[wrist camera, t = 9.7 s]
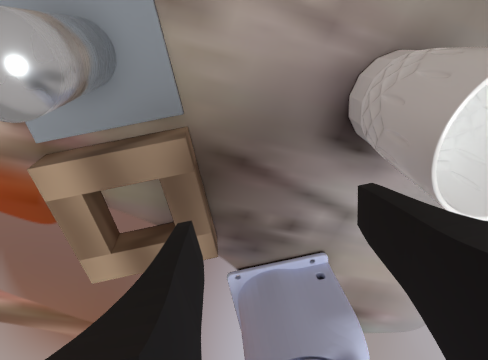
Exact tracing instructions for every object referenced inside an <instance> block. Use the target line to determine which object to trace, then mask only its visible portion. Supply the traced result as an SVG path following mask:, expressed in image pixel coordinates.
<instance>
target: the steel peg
mask: <svg viewBox="0 0 488 360" xmlns="http://www.w3.org/2000/svg"><path fill="white" fill-rule="evenodd" d="M115 68H116V52H115V49H114V46H113V44H112V42H111V40H110V38H109V37H108V35H107V34H106V33H105V32H104V31H103V30H102V29H101V28H100V27H99V26H98V25H96V24H95V23H93V22H92V21H89V20H87V19H85V18H81V17H76V16H69V15H62V14H55V13H48V12H41V11H34V10H27V9H20V8H13V7H6V6H0V121H3V122H11V123H20V122H27V121H31V120H34V119H37V118H39V117H41V116H43V115H45V114H47V113H49V112H51V111H53V110H55V109H57V108H59V107H61V106H63V105H65V104H67V103H69V102H71V101H73V100H75V99H77V98H79V97H81V96H83V95H85V94H87V93H89V92H91V91H93V90H95V89H97V88H99V87H101V86H102V85H104V84H106V83H107V82H108V81H109V80H110V79H111V77H112V76H113V74H114V72H115Z"/></svg>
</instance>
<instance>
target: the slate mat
mask: <svg viewBox="0 0 488 360" xmlns="http://www.w3.org/2000/svg"><path fill="white" fill-rule="evenodd" d="M0 6H6V7H13V8H20V9H27V10H34V11H41V12H48V13H55V14H62V15H69V16H76V17H81V18H85V19H87V20H89V21H92V22H93V23H95V24H96V25H98V26H99V27H100V28H101V29H102V30H103V31H104V32H105V33H106V34H107V35H108V37H109V38H110V40H111V42H112V44H113V46H114V49H115V52H116V68H115V72H114V74H113V76H112V77H111V79H110V80H109V81H108V82H107V83H106V84H104V85H102V86H101V87H99V88H97V89H95V90H93V91H91V92H89V93H87V94H85V95H83V96H81V97H79V98H77V99H75V100H73V101H71V102H69V103H67V104H65V105H63V106H61V107H59V108H57V109H55V110H53V111H51V112H49V113H47V114H45V115H43V116H41V117H39V118H37V119H34V120H31V121H27V122H25V123H26V125H27V126H28V128H29V130H30V132H31V134H32V136H33V138H34V140H35V142H36V143H40V142H45V141H50V140H55V139H60V138H65V137H70V136H75V135H81V134H86V133H91V132H96V131H101V130H106V129H111V128H116V127H121V126H126V125H131V124H136V123H141V122H146V121H151V120H157V119H162V118H167V117H172V116H177V115H182V114H184V112H183V108H182V104H181V100H180V96H179V93H178V89H177V85H176V81H175V78H174V74H173V70H172V66H171V63H170V59H169V55H168V51H167V48H166V44H165V40H164V36H163V33H162V29H161V25H160V21H159V18H158V14H157V10H156V6H155V2H154V0H0Z"/></svg>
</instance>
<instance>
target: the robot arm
mask: <svg viewBox="0 0 488 360" xmlns="http://www.w3.org/2000/svg"><path fill="white" fill-rule="evenodd" d="M357 225H358V226H359V228H360V230H361V232H362V234H363V235H364V237H365V239H366V240H367V242H368V244H369V245H370V246H371V248H372V249H373V250H374V252H375V253H376V254H377V256H378V257H379V258H380V259H381V261H382V262H383V263H384V265H385V266H386V267H387V268H388V270H389V271H390V272H391V273H392V275H393V276H394V277H395V279H396V280H397V281H398V282H399V284H400V285H401V286H402V288H403V289H404V290H405V292H406V293H407V295H408V296H409V298H410V299H411V301H412V303H413V304H414V306H415V307H416V309H417V311H418V312H419V314H420V315H421V317H422V319H423V320H424V322H425V324H426V325H427V327H428V329H429V330H430V332H431V333H432V335H433V337H434V339H435V340H436V342H437V344H438V346H439V348H440V349H441V351H442V353H443V355H444V357H445V358H446V360H488V221H483V220H479V219H475V218H472V217H468V216H464V215H460V214H457V213H454V212H450V211H447V210H444V209H441V208H438V207H435V206H432V205H429V204H426V203H424V202H421V201H418V200H416V199H413V198H411V197H408V196H405V195H403V194H400V193H398V192H395V191H393V190H390V189H388V188H385V187H383V186H380V185H377V184H374V183H369V184H364V185H359V186H358V224H357ZM312 259H313V260H312ZM310 260H312V261H310ZM237 275H239V276H237ZM227 280H228V284H229V287H230V291H231V295H232V298H233V302H234V306H235V309H236V313H237V317H238V321H239V324H240V328H241V331H242V339H243V348H244V356H245V360H370V357H369V351H368V347H367V343H366V340H365V337H364V334H363V331H362V329H361V326H360V324H359V321H358V319H357V317H356V314H355V312H354V310H353V309H352V307H351V305H350V303H349V301H348V299H347V297H346V295H345V293H344V292H343V290H342V288H341V286H340V284H339V282H338V280H337V278H336V277H335V275H334V273H333V271H332V269H331V267H330V265H329V263H328V256H327V255H326V254H325V253H318V254H313V255H309V256H304V257H299V258H295V259H290V260H285V261H280V262H276V263H271V264H266V265H262V266H257V267H252V268H248V269H243V270H238V271H234V272H230V273H229V274H228V275H227ZM203 292H204V264H203V256H202V252H201V249H200V246H199V242H198V239H197V236H196V233H195V229H194V226H193V223H192V220H191V221H186V222H181V223H177V225H176V226H175V228H174V229H173V231H172V232H171V234H170V236H169V237H168V239H167V240H166V242H165V243H164V245H163V246H162V248H161V249H160V251H159V252H158V254H157V255H156V257H155V258H154V260H153V261H152V262H151V264H150V265H149V266H148V268H147V269H146V270H145V272H144V273H143V274H142V275H141V277H140V278H139V279H138V280H137V281H136V282H135V284H134V285H133V286H132V287H131V288H130V289H129V290H128V291H127V292H126V293H125V294H124V296H122V297H121V298H120V299H119V300H118V301H117V302H116V303H115V304H114V305H113V306H112V307H111V308H110V309H109V310H108V311H107V312H106V313H105V314H104V315H102V316H101V317H100V318H99V319H98V320H97V321H95V322H94V323H93V324H92V325H91V326H89V327H88V328H87V329H86V330H85V331H83V332H82V333H81V334H80V335H78V336H77V337H76V338H74V339H73V340H72V341H71V342H69V343H68V344H66V345H65V346H63V347H62V348H61V349H59V350H58V351H57V352H55V353H54V354H52V355H51V356H50V357H49V358H47V359H45V360H201V321H202V307H203Z"/></svg>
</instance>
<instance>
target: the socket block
mask: <svg viewBox="0 0 488 360" xmlns="http://www.w3.org/2000/svg"><path fill="white" fill-rule="evenodd" d="M27 170H28V172H29V174H30V176H31V177H32V179H33V181H34V183H35V185H36V186H37V188H38V190H39V192H40V193H41V195H42V197H43V199H44V200H45V202H46V204H47V206H48V207H49V209H50V211H51V213H52V214H53V216H54V218H55V220H56V221H57V223H58V225H59V227H60V228H61V230H62V232H63V234H64V235H65V237H66V239H67V241H68V242H69V244H70V246H71V248H72V249H73V251H74V253H75V255H76V256H77V258H78V260H79V262H80V264H81V265H82V267H83V269H84V271H85V272H86V274H87V276H88V278H89V279H90V281H91V283H92V284H93V283H97V282H102V281H107V280H112V279H116V278H121V277H126V276H131V275H135V274H140V273H144V272H145V270H146V269H147V268H148V266H149V265H150V264H151V262H152V261H153V260H154V258H155V257H156V255H157V254H158V252H159V251H160V249H161V248H162V246H163V245H164V243H165V242H166V240H167V239H168V237H169V236H170V234H171V232H172V231H173V229H174V228H175V226H176V225H177V223H181V222H186V221H191V220H192V223H193V226H194V229H195V233H196V236H197V239H198V242H199V246H200V249H201V252H202V256H203V260H206V259H211V258H215V257H218V247H217V236H216V232H215V228H214V224H213V221H212V217H211V213H210V209H209V205H208V202H207V198H206V194H205V190H204V187H203V183H202V179H201V175H200V172H199V168H198V164H197V160H196V157H195V153H194V149H193V145H192V142H191V138H190V134H189V130H188V127H183V128H178V129H173V130H168V131H163V132H158V133H153V134H148V135H143V136H138V137H133V138H128V139H123V140H117V141H112V142H107V143H102V144H97V145H92V146H87V147H82V148H77V149H72V150H67V151H62V152H57V153H52V154H47V155H45V156H44V157H43V158H41V159H40V160H39V161H37V162H36V163H35V164H33V165H32V166H31V167H30V168H28V169H27ZM155 179H159V180H160V183H161V186H162V189H163V191H164V194H165V197H166V200H167V203H168V206H169V209H170V212H171V215H172V218H173V221H174V222H173V223H168V224H163V225H158V226H153V227H149V228H144V229H139V230H134V231H130V232H125V233H119V231H118V229H117V226H116V224H115V222H114V220H113V218H112V216H111V213H110V211H109V209H108V207H107V205H106V202H105V200H104V198H103V196H102V194H101V190H106V189H111V188H116V187H121V186H126V185H131V184H136V183H141V182H146V181H150V180H155Z"/></svg>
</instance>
